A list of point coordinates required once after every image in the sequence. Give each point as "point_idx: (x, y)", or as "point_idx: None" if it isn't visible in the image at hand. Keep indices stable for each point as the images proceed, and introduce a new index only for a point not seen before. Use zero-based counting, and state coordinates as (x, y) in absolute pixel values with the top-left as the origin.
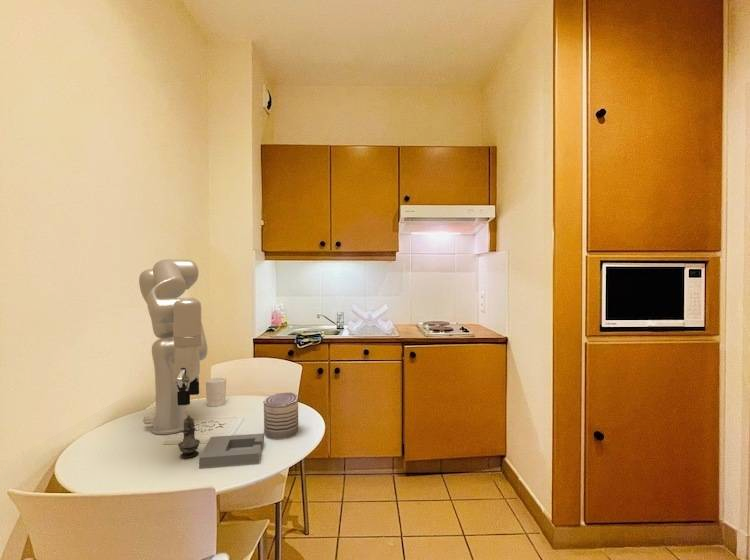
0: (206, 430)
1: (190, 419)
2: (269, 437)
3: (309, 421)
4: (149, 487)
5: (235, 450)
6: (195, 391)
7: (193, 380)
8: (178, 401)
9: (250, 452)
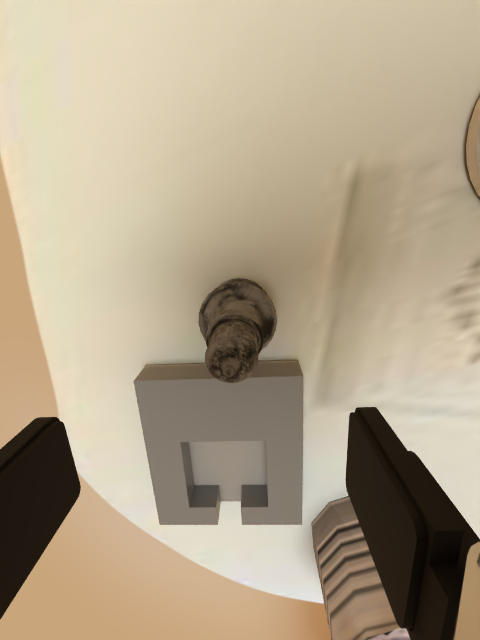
0: (460, 306)
1: (220, 375)
2: (325, 510)
3: None
4: (36, 261)
5: (181, 469)
6: (357, 492)
7: (434, 628)
8: (18, 443)
9: (165, 506)
